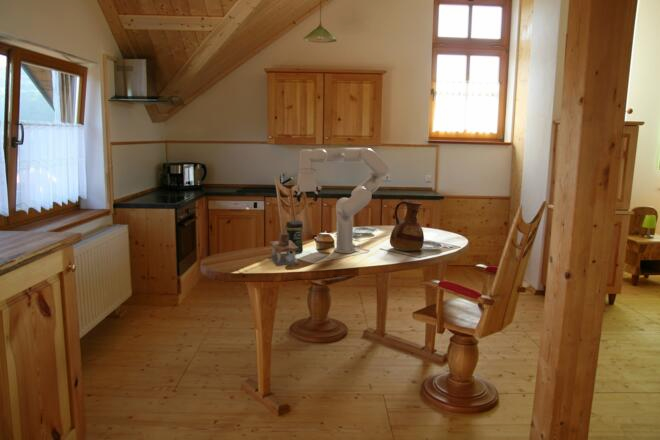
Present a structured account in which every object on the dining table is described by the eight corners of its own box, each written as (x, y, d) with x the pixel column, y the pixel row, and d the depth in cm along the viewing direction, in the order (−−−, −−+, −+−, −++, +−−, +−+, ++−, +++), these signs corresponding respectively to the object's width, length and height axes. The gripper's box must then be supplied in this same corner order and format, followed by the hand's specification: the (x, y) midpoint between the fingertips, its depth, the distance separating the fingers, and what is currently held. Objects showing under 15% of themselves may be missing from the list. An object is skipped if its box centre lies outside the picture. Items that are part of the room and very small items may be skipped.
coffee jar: (290, 254, 298) (289, 222, 295) (284, 251, 305) (283, 220, 301) (305, 252, 303) (305, 221, 300) (298, 250, 310) (298, 219, 306)
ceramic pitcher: (423, 254, 301) (424, 203, 295) (388, 252, 305) (389, 201, 299) (423, 247, 320) (425, 198, 314) (390, 245, 323) (392, 197, 318)
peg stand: (290, 255, 295) (290, 242, 294) (298, 264, 276) (298, 250, 275) (269, 257, 292) (269, 244, 290) (276, 266, 273) (276, 252, 271)
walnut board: (290, 242, 294) (290, 229, 292) (298, 250, 275) (298, 236, 274) (269, 244, 290) (269, 230, 289) (276, 252, 272) (276, 237, 270)
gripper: (319, 170, 300) (319, 200, 303) (290, 171, 295) (290, 201, 298) (323, 171, 293) (323, 201, 296) (293, 172, 288) (294, 203, 291)
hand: (307, 201), depth 297 cm, fingers open, 9 cm apart
